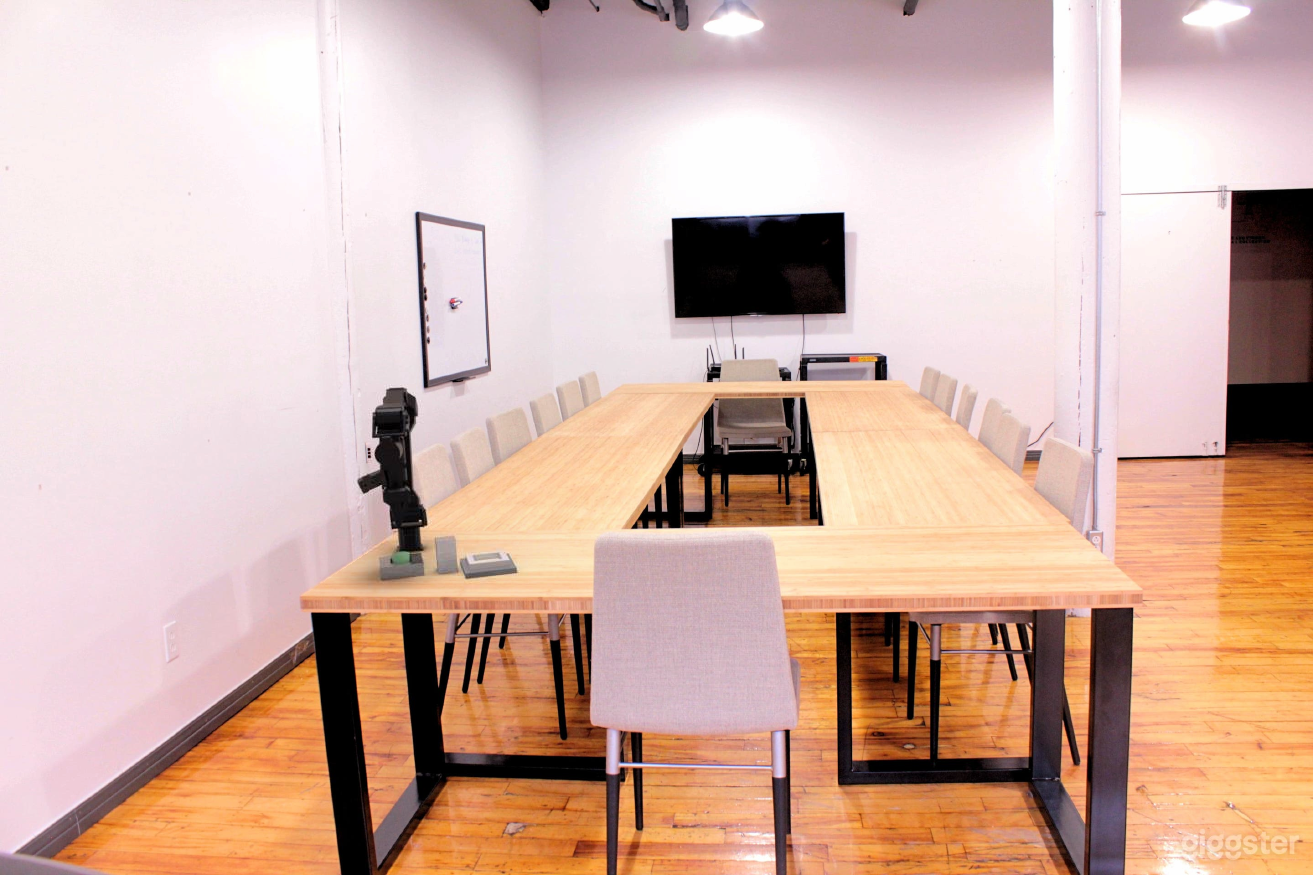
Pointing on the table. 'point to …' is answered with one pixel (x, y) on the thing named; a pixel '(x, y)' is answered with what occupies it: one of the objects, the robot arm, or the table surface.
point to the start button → (400, 557)
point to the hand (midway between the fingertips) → (398, 523)
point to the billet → (446, 554)
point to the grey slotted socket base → (487, 564)
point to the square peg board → (401, 567)
